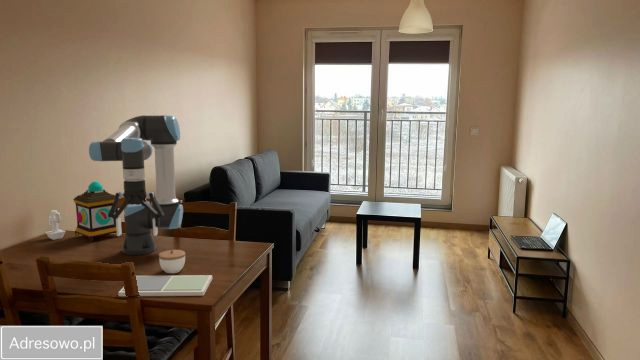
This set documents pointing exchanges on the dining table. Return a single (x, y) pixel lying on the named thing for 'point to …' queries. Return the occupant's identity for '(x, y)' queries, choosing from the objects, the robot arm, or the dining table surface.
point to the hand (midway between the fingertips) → (137, 235)
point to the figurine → (55, 226)
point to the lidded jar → (172, 260)
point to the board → (171, 285)
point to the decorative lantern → (94, 212)
